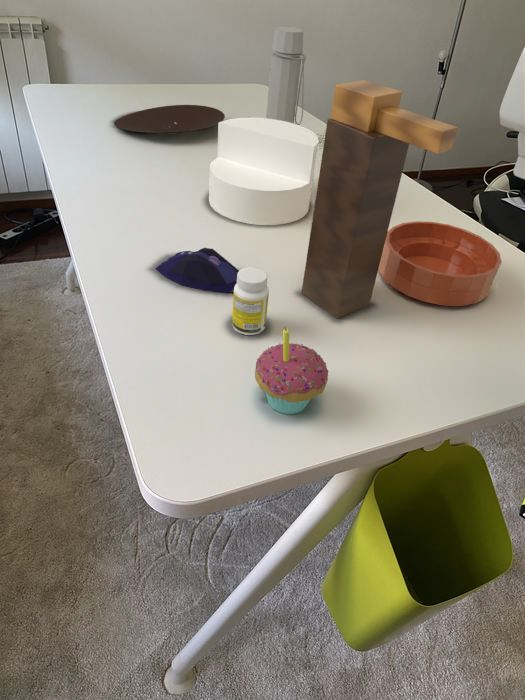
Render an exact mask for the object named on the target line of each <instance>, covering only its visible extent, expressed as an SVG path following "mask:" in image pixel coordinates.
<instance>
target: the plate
mask: <svg viewBox="0 0 525 700" xmlns="http://www.w3.org/2000/svg"><path fill="white" fill-rule="evenodd" d="M225 118H226V116H225V113H224V112H223V111H222V110H220V109H218V108H214V107H212V106H206V105H199V104H173V105H163V106H157V107H151V108H147V109H143V110H137V111H135V112H131V113H128V114H126V115H123V116H121V117H119V118H117V119H115V121H114V122H113V126H115V127H116V128H119V129H121V130H125V131H130V132H139V133H140V132H141V133H154V134H155V133H156V134H167V135H168V134H170V135H171V134H173V135H175V134H184V133H190V132H194V131H198V130H203V129H207V128H210V127H214V126H216V125H218V123H219V122H222V121H225Z"/></svg>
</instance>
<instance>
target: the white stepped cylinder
mask: <svg viewBox="0 0 525 700" xmlns="http://www.w3.org/2000/svg"><path fill="white" fill-rule="evenodd" d="M297 124H298V123H297ZM297 124H296V123H294V124H293V123H290V122H286V121H281V120H275V119H267V118H266V117H237V118H230V119H224V120H223V121H221V122H219V123H218V124H217V125H218V127H217V128H218V129H217V155H216V158H214V159H213V160H212V161H211V163H210V164H209V180H208V201H209V205H210V206H211V209H213V210H214V211H215V212H216V213H218V214H219V215H221V216H223V217H225V218H227V219H230V220H233V221H234V222H235V221H236V222H239V223H244V224H249V225H256V226H279V225H286V224H290V223H293V222H296V221H299V220H301V219H302V218H304V217H305V216H306V215H307V213H308V212H309V210H310V209H309V208H310V202H311V194H312V188H313V181H314V173H315V168H316V161H317V153H318V146H319V137H318V135H317V134H316V133H315V132H313V131H312V130H310V129H309V128H307V127H304V126H302V125H301V124H300V125H297Z"/></svg>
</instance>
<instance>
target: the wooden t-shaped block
mask: <svg viewBox="0 0 525 700" xmlns="http://www.w3.org/2000/svg"><path fill="white" fill-rule="evenodd" d="M334 86H335V88H334V94H333V99H332V106H331V107H332V108H331V113H330V118H331V119H333V120H336V121H338V122H341V123H344V124H346V125H349V126H352V127H354V128H357V129H360V130H363V131H365V132H371V131H376V132H379V133H381V134H384V135H387V136H390V137H392V138H395V139H398V140H401V141H403V142H406V143H409V145H412V146H414V147H417V148H420V149H422V150H424V151H425V150H426V151H428V152H431V153H434V154H436V155H439V154H442V153H445V152H448V151H451V150H452V149H453V146H454V144H455V140H456V136H457V133H458V129H459V127H458V126H455V125H452V124H449V123H446V122H443V121H440V120H436V119H433V118H430V117H428V116H424V115H421V114H418V113H416V112H412V111H410V110H406V109H403V108H400V104H401V98H402V94H403V91H401V90H397V89H395V88H391V87H388V86H385V85H382V84H378V83H375V82H372V81H369V80H365V79H361V80H356V81H349V82H344V83H337V84H335V85H334Z"/></svg>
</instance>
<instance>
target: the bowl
mask: <svg viewBox="0 0 525 700" xmlns="http://www.w3.org/2000/svg"><path fill="white" fill-rule="evenodd" d="M501 265H502V257H501V254H500V252H499V251H498V249H497V248H496V247H495V246H494V244H492V243H491V242H489V241H488V240H486V239H485V238H483V237H482V236H481V235H479V234H476V233H474V232H472V231H470V230H468V229H465V228H461V227H459V226H455V225H451V224H448V223H441V222H435V221H423V220H421V221H419V220H416V221H408V222H401V223H399V224H397V225H394V226H392V227H391V228H390V229H388V232H387V236H386V240H385V244H384V248H383V252H382V256H381V260H380V264H379V268H378V272H379V273H380V275H381V277H382V278H383V279H384V281H386V282H387V284H389V285H390V287H392V289H393V288H394V289H395V290H397V291H398V292H400V293H402V294H404V295H405V296H407V297H410V298H412V299H416V300H418V301H421V302H424V303H428V304H432V305H433V304H434V305H438V306H445V307H448V306H449V307H464V306H469V305H475V304H477V303H479V302H481V301H483V300H484V299H486V298H487V297H488V295H489V293H490V292H491V290H492V286H493V284H494V282H495V280H496V277H497V275H498V272H499V270H500V267H501Z"/></svg>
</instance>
